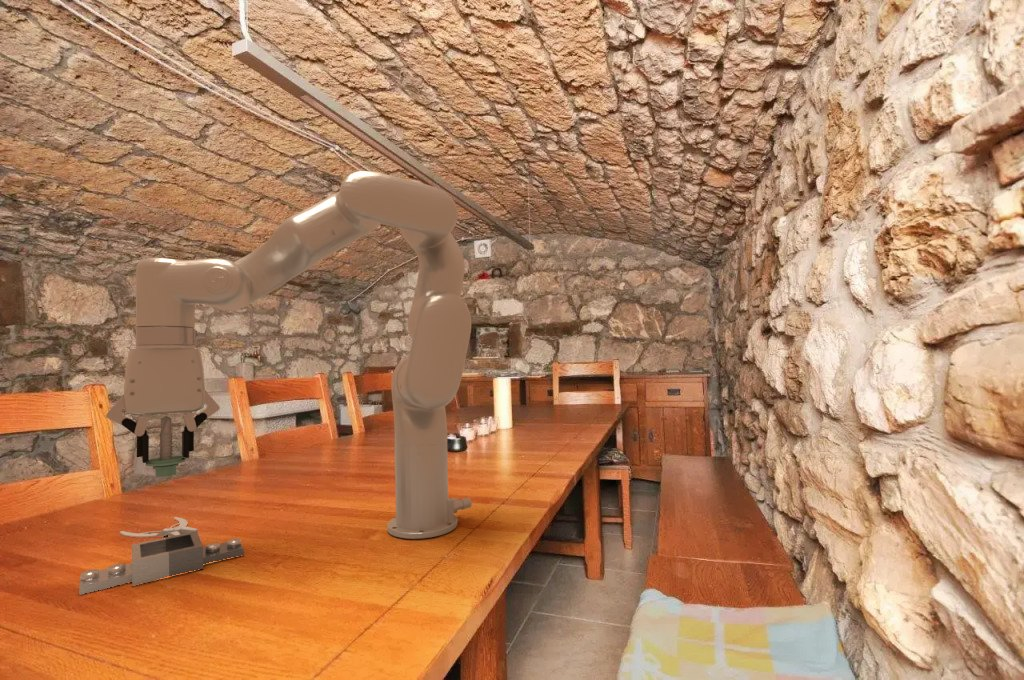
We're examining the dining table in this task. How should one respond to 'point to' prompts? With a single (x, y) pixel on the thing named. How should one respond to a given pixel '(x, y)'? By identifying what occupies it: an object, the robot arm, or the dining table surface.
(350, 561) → the dining table surface
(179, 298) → the robot arm
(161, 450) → the screw
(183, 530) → the pliers
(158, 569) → the riveted metal bracket
